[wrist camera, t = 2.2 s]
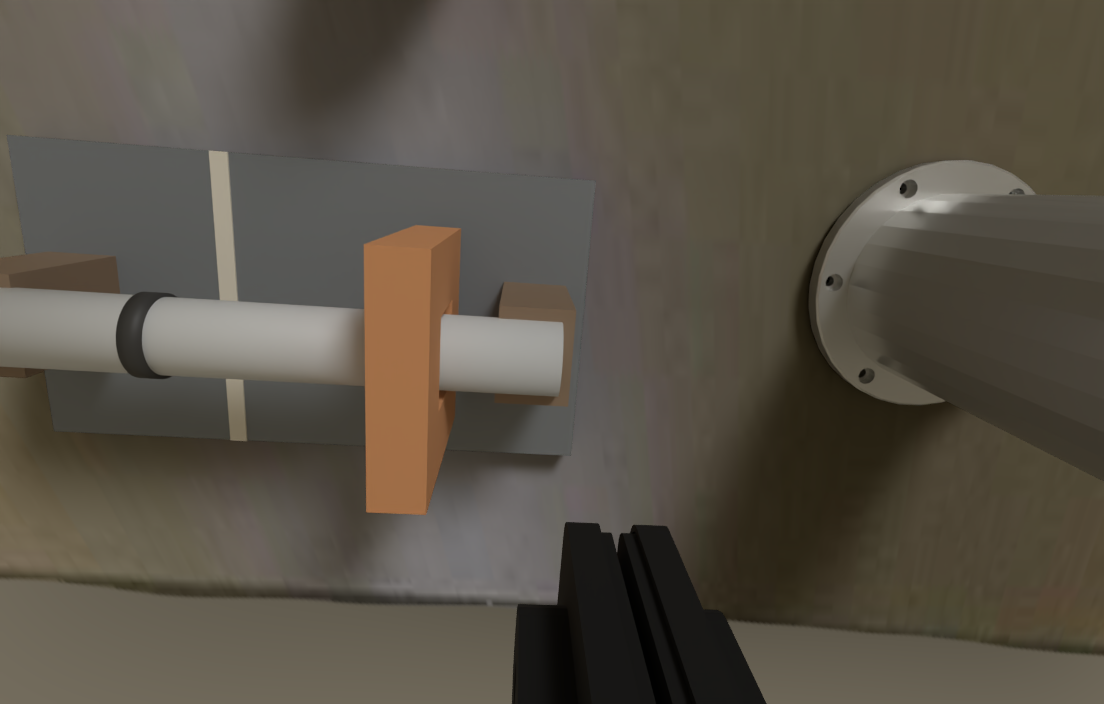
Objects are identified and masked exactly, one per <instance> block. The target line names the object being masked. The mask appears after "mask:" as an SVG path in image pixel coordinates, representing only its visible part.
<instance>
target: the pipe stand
mask: <svg viewBox="0 0 1104 704" xmlns="http://www.w3.org/2000/svg"><path fill="white" fill-rule="evenodd" d="M7 140H8V146H9V153H10V159H11V165H12V171H13V178H14V184H15V190H16V197H17V203H18V209H19V215H20V222H21V228H22V234H23V240H24V247H25V253H26V255H19V256H12V257H5V258H0V377H16V378H27V377H30V376H32V375H35V374H37V373H40V372H43V371H44V372H45V378H46V384H47V391H48V397H49V403H50V410H51V416H52V422H53V428H54V431H60V432H81V433H102V434H123V435H144V436H165V437H186V438H207V439H228V440H231V441H247V440H249V441H270V442H291V443H312V444H333V445H354V446H366V424H365V323H364V244H366V243H369V242H371V241H374V240H377V239H379V238H382V237H385V236H388V235H390V234H393V233H396V232H398V231H401V230H404V229H407V228H409V227H412V226H415V225H422V226H436V227H450V228H461V248H460V278H459V309H458V315H450V314H443V315H442V317H441V336H440V376H439V390H444V391H456V400H455V418H454V421H453V425H452V428H451V432H450V435H449V438H448V442H447V445H446V449H445V450H460V451H481V452H502V453H523V454H544V455H565V456H571V450H572V439H573V428H574V416H575V405H576V394H577V383H578V372H579V361H580V350H581V339H582V327H583V316H584V305H585V294H586V283H587V272H588V261H589V250H590V238H591V227H592V216H593V205H594V194H595V183H596V181H591V180H578V179H566V178H553V177H540V176H527V175H514V174H501V173H489V172H476V171H463V170H450V169H437V168H424V167H412V166H399V165H386V164H373V163H360V162H347V161H335V160H322V159H309V158H296V157H283V156H270V155H258V154H245V153H232V152H220V151H206V150H193V149H181V148H168V147H155V146H142V145H129V144H117V143H104V142H91V141H78V140H65V139H52V138H40V137H27V136H14V135H7Z"/></svg>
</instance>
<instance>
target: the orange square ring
mask: <svg viewBox="0 0 1104 704" xmlns="http://www.w3.org/2000/svg"><path fill="white" fill-rule="evenodd" d="M460 248H461V228H450V227H436V226H422V225H415V226H412V227H409V228H407V229H404V230H401V231H398V232H396V233H393V234H390V235H388V236H385V237H382V238H379V239H377V240H374V241H371V242H369V243H366V244H364V323H365V424H366V512H369V513H394V514H419V515H426V513H427V510H428V506H429V503H430V499H431V496H432V493H433V489H434V486H435V482H436V479H437V476H438V472H439V469H440V465H441V462H442V459H443V455H444V452H445V449H446V445H447V442H448V438H449V435H450V432H451V428H452V425H453V421H454V418H455V400H456V391H444V390H439V376H440V336H441V317H442V315H443V314H450V315H458V309H459V278H460Z"/></svg>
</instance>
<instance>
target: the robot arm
mask: <svg viewBox="0 0 1104 704" xmlns="http://www.w3.org/2000/svg"><path fill="white" fill-rule="evenodd" d="M900 187H902V189H901V191H900ZM828 277H830V280H829V283H827V284H826V280H827V278H828ZM808 308H809V315H810V321H811V328H812V331H813V334H814V337H815V340H816V342H817V345H818V348H819V350H820V351H821V353H822V354H823V356H824V358H825V359H826V361H827V362H828V364H829V365H830V366H831V367H832V368H833V369H834V370H835V371H836V372H837V373H838V374H839V375H840V376H841V377H842V378H843V379H844V380H845V381H847V382H848V383H850V384H851V385H853V386H854V387H856V388H857V389H859V390H860V391H862V392H864V393H866V394H868V395H871V396H873V397H875V398H877V399H879V400H883V401H887V402H891V403H895V404H901V405H927V404H935V403H942V402H945V401H947V402H949V403H951V404H953V405H955V406H957V407H959V408H961V409H963V410H965V411H967V412H969V413H970V414H972V415H974V416H976V417H978V418H980V419H982V420H984V421H986V422H988V423H990V424H992V425H994V426H996V427H998V428H1000V429H1002V430H1004V431H1006V432H1008V433H1010V434H1012V435H1014V436H1016V437H1017V438H1019V439H1021V440H1023V441H1025V442H1027V443H1029V444H1031V445H1033V446H1035V447H1037V448H1039V449H1041V450H1043V451H1045V452H1047V453H1049V454H1051V455H1053V456H1055V457H1057V458H1059V459H1061V460H1063V461H1065V462H1066V463H1068V464H1070V465H1072V466H1074V467H1076V468H1078V469H1080V470H1082V471H1084V472H1086V473H1088V474H1090V475H1092V476H1094V477H1096V478H1098V479H1100V480H1102V481H1104V196H1076V195H1036V194H1035V192H1034V191H1033V190H1032V189H1031V187H1029V186H1028V185H1027V184H1026V183H1024V182H1023V181H1022V180H1020V179H1019V178H1018V177H1016V176H1015V175H1014V174H1012V173H1010V172H1008V171H1005V170H1003V169H1001V168H999V167H996V166H994V165H991V164H986V163H981V162H976V161H971V160H950V161H938V162H930V163H922V164H919V165H916V166H913V167H910V168H907V169H904V170H900V171H898V172H896V173H894V174H892V175H890V176H889V177H887V178H885V179H883V180H881V181H879V182H877V183H876V184H874V185H873V186H872V187H871V188H869V189H868V190H867V191H865V192H864V193H863V194H862V195H860V196H859V197H858V198H856V199H855V201H854V202H853V203H852V204H851V205H850V206H849V207H848V208H847V209H846V210H845V211H844V213H843V214H842V215H841V216H840V217H839V218H838V220H837V221H836V223H835V224H834V226H833V227H832V229H831V230H830V232H829V233H828V235H827V236H826V238H825V240H824V242H823V244H822V247H821V249H820V251H819V254H818V256H817V258H816V261H815V264H814V268H813V272H812V277H811V281H810V286H809V306H808ZM860 371H861V372H860ZM512 704H766V702H765V700H764V698H763V696H762V693H761V691H760V689H759V687H758V685H757V683H756V681H755V679H754V677H753V675H752V672H751V670H750V668H749V666H748V664H747V662H746V660H745V658H744V656H743V654H742V651H741V649H740V647H739V645H738V643H737V641H736V639H735V637H734V634H733V633H732V630H731V629H730V626H729V624H728V622H727V620H726V618H725V617H724V615H723V613H722V612H720V611H719V610H703V608H702V606H701V603H700V601H699V599H698V596H697V594H696V592H695V589H694V587H693V585H692V583H691V580H690V578H689V576H688V573H687V571H686V569H685V566H684V564H683V562H682V559H681V557H680V555H679V552H678V550H677V548H676V545H675V543H674V541H673V538H672V536H671V534H670V531H669V529H668V528H667V527H666V526H653V525H633V526H632V528H631V532H630V533H621V534H620V537H619V542H618V551H617V552H616V548H615V544H614V541H613V537H612V534H611V533H603V532H601V530H600V526H599V524H598V523H575V522H566V523H565V528H564V536H563V548H562V559H561V570H560V581H559V592H558V603H557V605H527V604H518V607H517V618H516V633H515V647H514V664H513V689H512Z"/></svg>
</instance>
